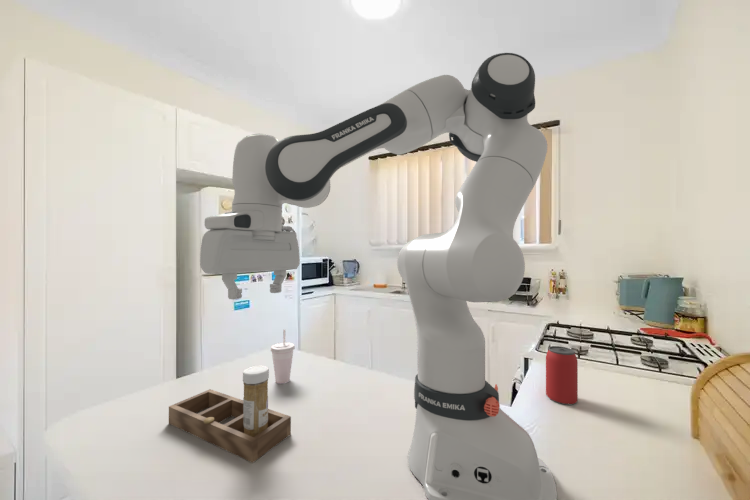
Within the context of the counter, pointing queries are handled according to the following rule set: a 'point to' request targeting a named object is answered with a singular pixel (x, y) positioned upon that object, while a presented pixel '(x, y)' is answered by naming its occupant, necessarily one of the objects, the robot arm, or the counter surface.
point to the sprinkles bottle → (255, 400)
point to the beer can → (562, 375)
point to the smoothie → (282, 360)
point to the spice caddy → (227, 424)
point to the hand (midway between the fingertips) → (256, 295)
